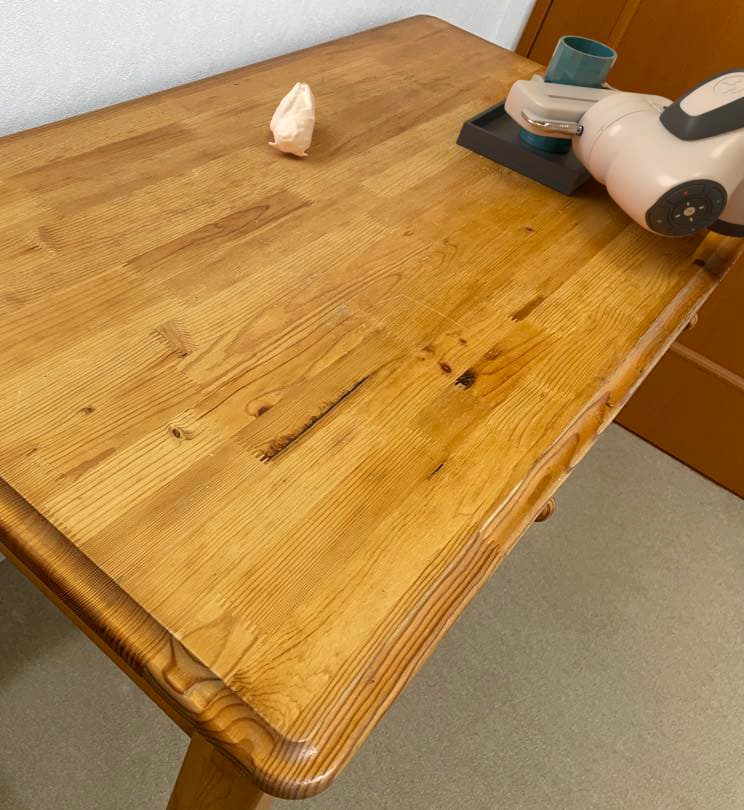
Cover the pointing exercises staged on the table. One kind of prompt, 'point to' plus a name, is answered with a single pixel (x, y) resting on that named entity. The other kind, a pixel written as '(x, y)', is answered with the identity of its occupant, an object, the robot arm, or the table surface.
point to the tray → (520, 150)
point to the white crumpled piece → (294, 121)
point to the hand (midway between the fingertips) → (566, 84)
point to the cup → (573, 79)
